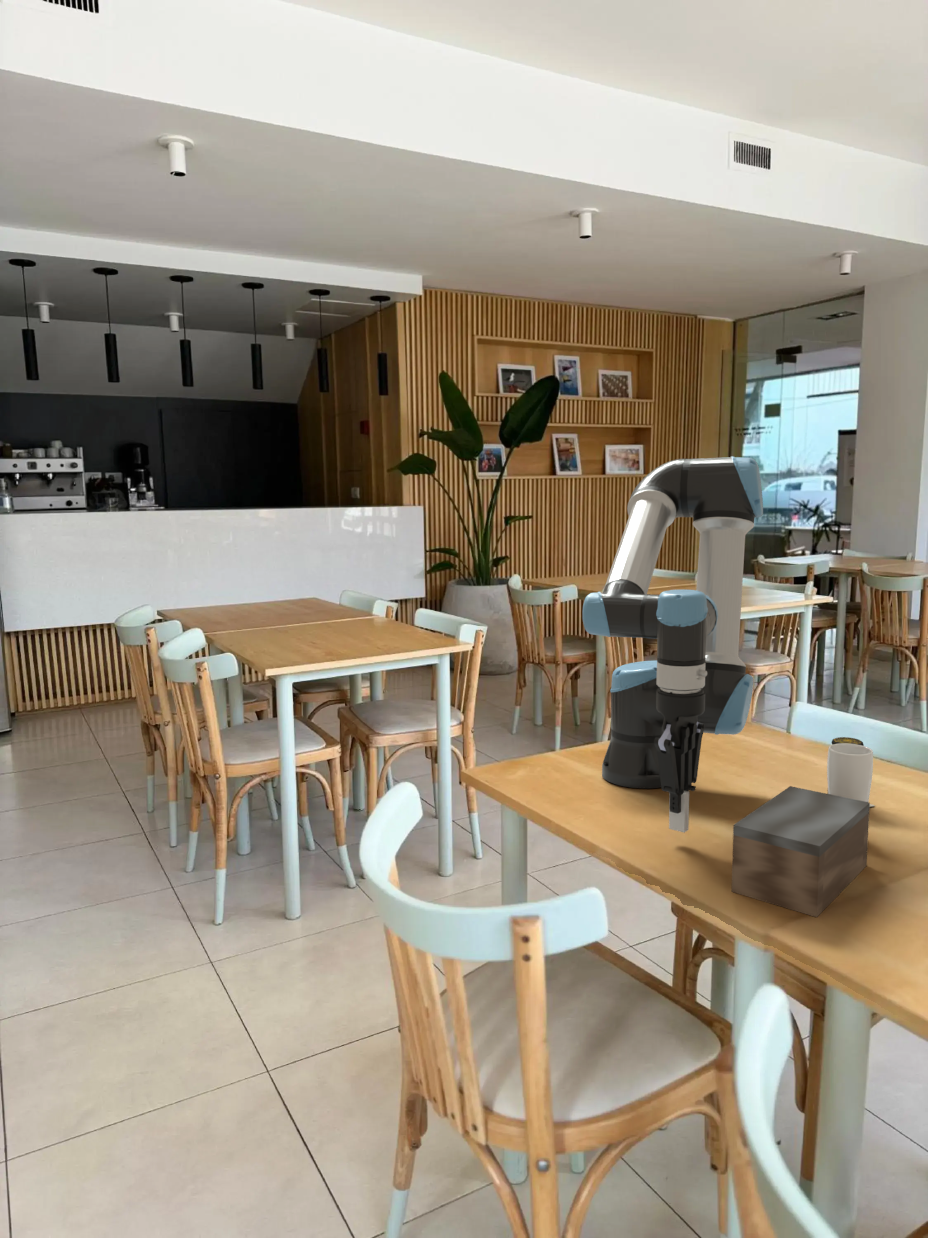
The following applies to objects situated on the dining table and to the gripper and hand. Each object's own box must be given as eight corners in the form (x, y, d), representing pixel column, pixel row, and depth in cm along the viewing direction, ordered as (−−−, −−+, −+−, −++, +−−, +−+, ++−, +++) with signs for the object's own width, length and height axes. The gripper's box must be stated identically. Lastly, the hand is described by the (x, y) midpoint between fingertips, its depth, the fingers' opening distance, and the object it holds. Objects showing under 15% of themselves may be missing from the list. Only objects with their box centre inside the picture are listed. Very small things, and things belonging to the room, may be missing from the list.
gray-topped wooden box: (731, 891, 124) (733, 825, 123) (788, 845, 140) (790, 786, 139) (816, 917, 116) (819, 846, 115) (866, 865, 132) (869, 802, 131)
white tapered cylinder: (816, 830, 146) (820, 743, 144) (855, 828, 147) (859, 742, 144) (837, 846, 139) (841, 756, 137) (877, 844, 140) (882, 754, 138)
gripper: (683, 699, 130) (680, 848, 134) (721, 683, 140) (718, 822, 144) (638, 692, 135) (637, 836, 139) (678, 677, 145) (676, 812, 149)
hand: (678, 829), depth 141 cm, fingers closed
